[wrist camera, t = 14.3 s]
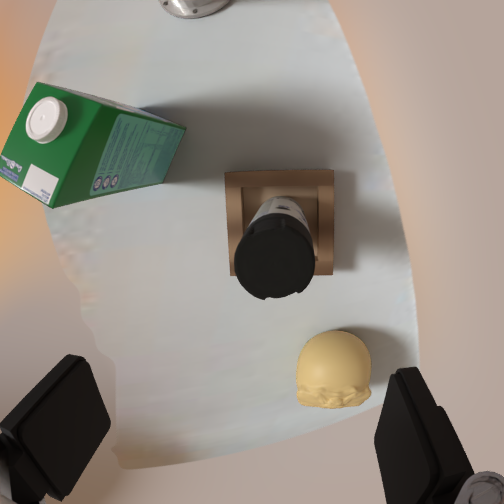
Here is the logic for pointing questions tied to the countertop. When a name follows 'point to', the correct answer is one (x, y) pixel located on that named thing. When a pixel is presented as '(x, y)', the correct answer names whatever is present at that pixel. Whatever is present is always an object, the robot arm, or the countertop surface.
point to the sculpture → (333, 371)
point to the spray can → (276, 251)
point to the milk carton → (85, 147)
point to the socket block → (290, 185)
